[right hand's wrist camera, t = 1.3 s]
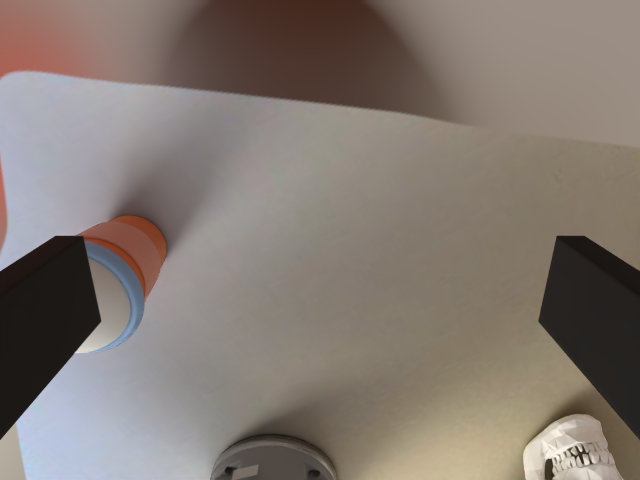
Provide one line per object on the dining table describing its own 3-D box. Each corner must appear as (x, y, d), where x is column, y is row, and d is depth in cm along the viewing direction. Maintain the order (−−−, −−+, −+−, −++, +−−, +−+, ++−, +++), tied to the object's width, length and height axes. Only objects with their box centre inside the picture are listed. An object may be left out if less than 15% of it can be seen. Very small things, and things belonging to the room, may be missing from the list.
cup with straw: (162, 189, 39) (45, 283, 23) (195, 277, 43) (115, 415, 26) (69, 210, 40) (-110, 316, 23) (109, 295, 43) (-23, 440, 27)
